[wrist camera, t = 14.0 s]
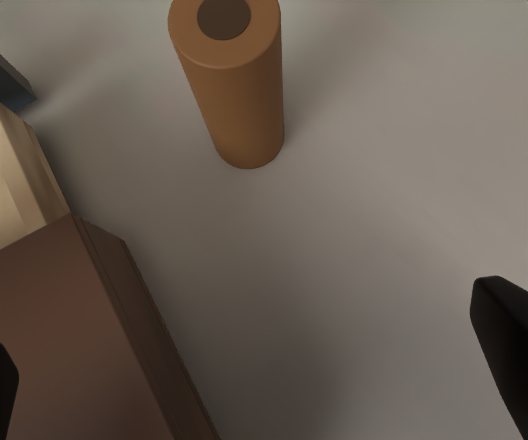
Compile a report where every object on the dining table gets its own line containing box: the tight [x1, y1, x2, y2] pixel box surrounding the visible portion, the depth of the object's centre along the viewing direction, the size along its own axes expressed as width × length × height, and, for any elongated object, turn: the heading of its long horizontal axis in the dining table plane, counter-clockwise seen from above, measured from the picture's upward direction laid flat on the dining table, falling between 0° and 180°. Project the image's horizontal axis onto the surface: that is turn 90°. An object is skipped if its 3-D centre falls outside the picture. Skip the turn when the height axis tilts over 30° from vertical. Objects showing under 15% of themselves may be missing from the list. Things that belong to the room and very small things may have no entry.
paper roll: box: [168, 0, 284, 169], centre depth 18 cm, size 3×3×9 cm
